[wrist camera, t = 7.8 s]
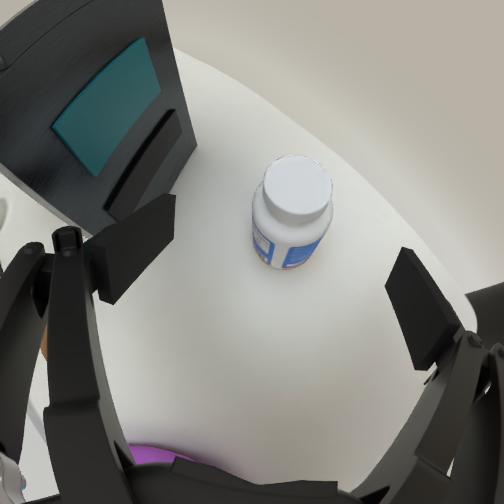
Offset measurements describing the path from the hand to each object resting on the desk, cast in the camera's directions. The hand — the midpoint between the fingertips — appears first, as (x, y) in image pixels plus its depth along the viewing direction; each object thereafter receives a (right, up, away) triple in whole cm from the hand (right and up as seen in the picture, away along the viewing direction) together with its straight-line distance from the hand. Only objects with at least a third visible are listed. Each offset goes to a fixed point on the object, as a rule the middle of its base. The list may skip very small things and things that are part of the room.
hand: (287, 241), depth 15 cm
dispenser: (-12, +5, +11) cm, 17 cm away
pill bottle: (+1, 0, +10) cm, 10 cm away
